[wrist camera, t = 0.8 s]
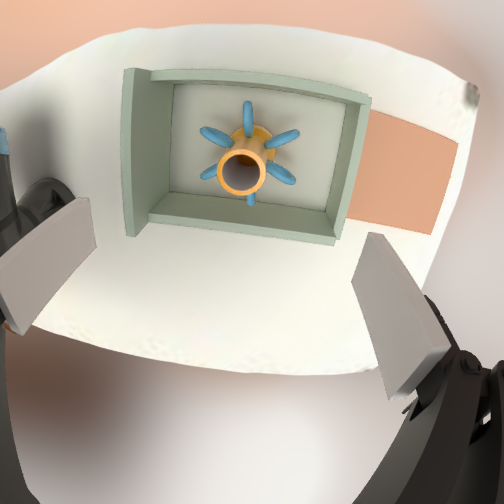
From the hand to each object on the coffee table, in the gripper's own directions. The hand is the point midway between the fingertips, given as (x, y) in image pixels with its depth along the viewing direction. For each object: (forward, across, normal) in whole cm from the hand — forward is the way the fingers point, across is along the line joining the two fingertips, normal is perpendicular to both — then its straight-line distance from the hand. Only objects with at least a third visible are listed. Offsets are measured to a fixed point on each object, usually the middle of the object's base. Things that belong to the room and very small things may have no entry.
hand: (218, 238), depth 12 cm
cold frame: (+26, 0, 0) cm, 26 cm away
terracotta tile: (+26, +22, 0) cm, 35 cm away
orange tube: (+27, 0, 0) cm, 27 cm away
